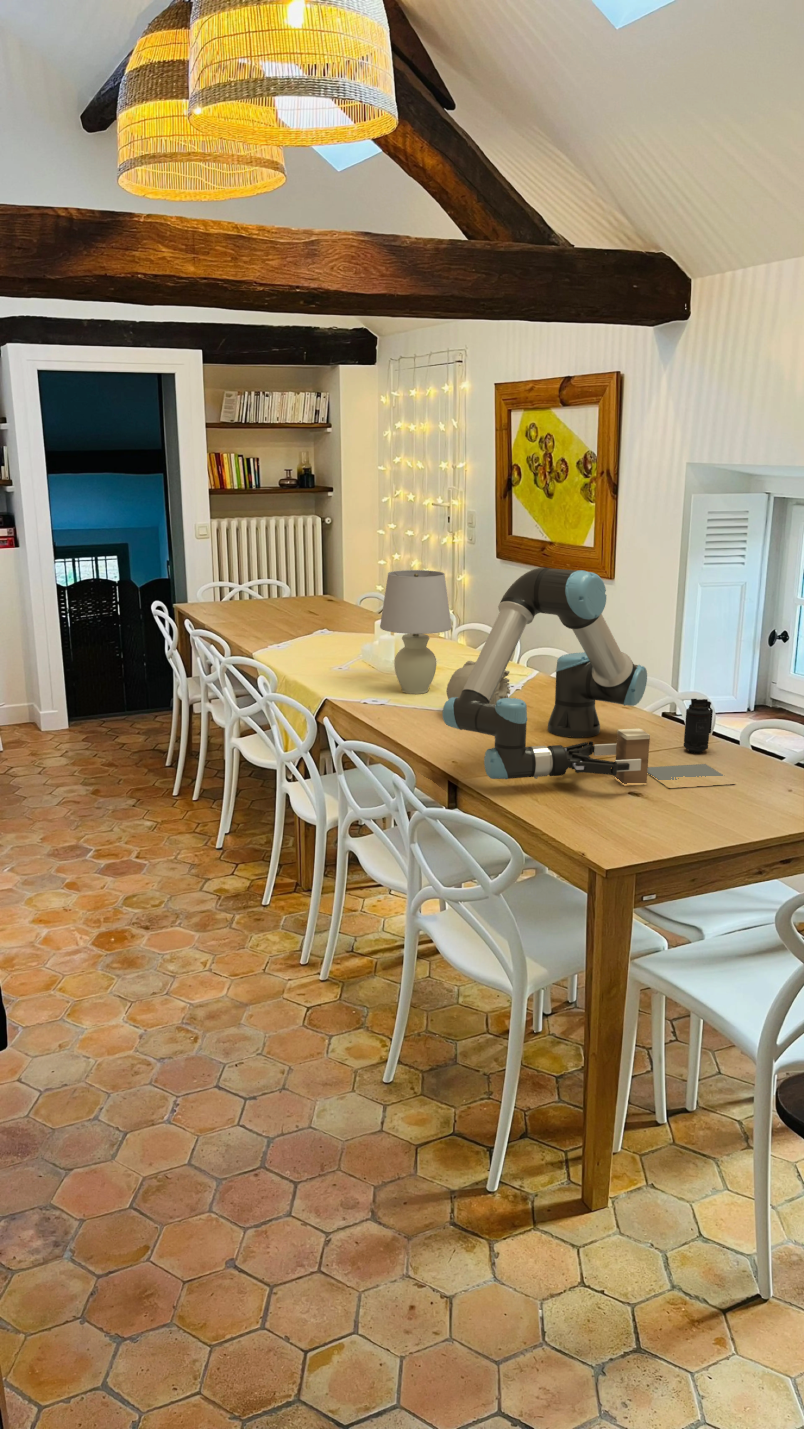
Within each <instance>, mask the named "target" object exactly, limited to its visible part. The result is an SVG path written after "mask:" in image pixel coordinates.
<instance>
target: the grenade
mask: <svg viewBox="0 0 804 1429" xmlns="http://www.w3.org/2000/svg"><path fill="white" fill-rule="evenodd" d="M711 706H712V702H711V701H709V700H708V698H703V699H697V698H690V704H689V705H688V708H687V709H686V711H685V723H684V733H683V736H684V738H683V742H684V743H683V747H684V748H685V750H687V751H688V753H689V754H690V753H691V754H703V752H704V751H706V750H707V749H708V748H709V741H710V740H709V738H710V734H711V733H712V724H713V714H714V710H713V709H712V707H711Z"/></svg>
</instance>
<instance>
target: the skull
mask: <svg viewBox="0 0 804 1429" xmlns="http://www.w3.org/2000/svg"><path fill="white" fill-rule="evenodd" d="M475 663H476V661H474V660H473V661H472V660H468V661H466V662H465V663H464V664H463V666H462V667H459V668H458V669H456V670H455V671H454V672H453V674H452V675H451V677H450V679H449V681H448V683H447V687H446V696H447V699H448V700H449V699H450V698H452V697H454V698H455V697H458V698H459V696H460V694H461V692H462V691H463V688H464V686H465V684H466V682H467V680H468V678H469V676H470V674H471V672H472V670H473V667H474V665H475ZM509 674H510V670H506V669H505V671H504V673H503V675H502V677H501V680H500V682H499V684H498V686H497V688H496V690H495V692H494V694H493V697H492V699H491V701H490V703H489V704H494V705H496V702H497V701H498V700H499V699H502V698H510V697H509V696H508V695H510V694H511V689H510V688H511V687H510V683H509V682H510V679H509V678H508V677H507V676H509ZM506 677H507V678H506Z"/></svg>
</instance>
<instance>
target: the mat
mask: <svg viewBox="0 0 804 1429" xmlns="http://www.w3.org/2000/svg"><path fill="white" fill-rule="evenodd" d="M647 773H648V774H650V775H652V776H654V777H655V778H657V779H658V780H671V779H672V780H674V777H675V780H677V779H676V777H683V776H685V777H696V776H697V777H699V776H701V777H702V776H705V777H706V776H723V775H724V774H723V773H721V772H719V771H718V770H716V769H715V768H712V767H711V766H710V765H708V764H706V763H701V764H699V763H698V764H695V763H694V764H683V765H681V764H680V765H665V766H663V765H662V766H648V771H647ZM648 774H647V775H648ZM671 777H672V778H671ZM678 779H679V778H678Z"/></svg>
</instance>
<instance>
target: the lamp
mask: <svg viewBox="0 0 804 1429" xmlns="http://www.w3.org/2000/svg"><path fill="white" fill-rule="evenodd" d="M447 590H448V589H447V583H446V573H445V572H441V571H437V570H427V569H426V570H425V569H405V570H404V569H403V570H401V569H400V570H393V571H390V572H387V578H386V586H385V592H384V598H383V605H382V612H381V619H380V625H379V628H380V630H382V631H386V632H390V633H395V634H403V635H402V637H401V639H402V642H403V644H404V647H402V648H401V649H400V650H399V651H397V653H396V654H395V657H394V662H393V664H394V670H395V675H396V678H397V682H398V683H399V686H400V687H401V691H402V693H405V694H409V695H421V694H422V695H423V694H426V693H427V692H429V688H430V686H431V685H432V682H433V681H434V680H433V679H434V677H435V675H436V670H437V658H436V655H435V653H434V652H433V651H432V650H431V649H430V648H429V647H428V642H429V640H430V636H429V635H430V634H439V633H445V632H447V631H450V630H452V621H451V614H450V606H449V598H448V591H447ZM428 634H429V635H428Z"/></svg>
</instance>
